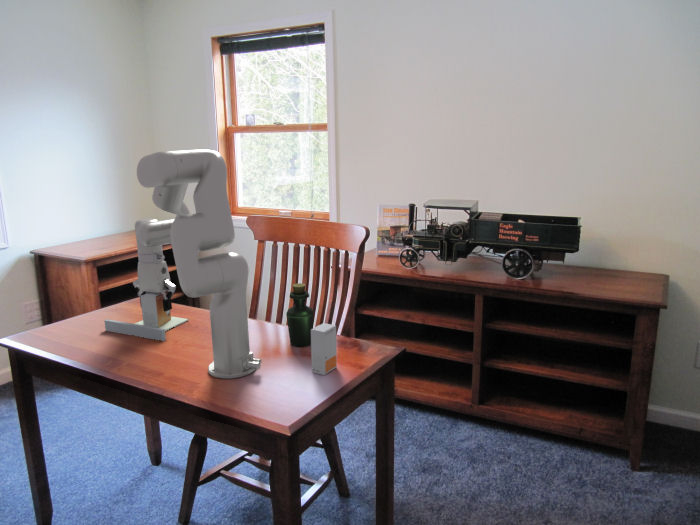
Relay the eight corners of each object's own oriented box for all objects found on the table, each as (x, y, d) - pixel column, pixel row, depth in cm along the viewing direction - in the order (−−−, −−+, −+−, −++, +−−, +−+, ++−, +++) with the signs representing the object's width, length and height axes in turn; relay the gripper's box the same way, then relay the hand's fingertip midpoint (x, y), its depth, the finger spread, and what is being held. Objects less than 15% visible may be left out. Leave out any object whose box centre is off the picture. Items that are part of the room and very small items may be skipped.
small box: (158, 328, 178) (155, 296, 175) (143, 326, 179) (139, 295, 177) (172, 319, 185) (169, 289, 183) (157, 318, 187) (154, 288, 184)
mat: (188, 320, 186) (188, 319, 186) (158, 334, 173) (158, 333, 173) (157, 315, 191) (156, 314, 191) (125, 329, 179) (125, 327, 179)
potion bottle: (312, 348, 160) (310, 289, 156) (284, 348, 161) (281, 288, 157) (317, 338, 168) (315, 281, 164) (291, 337, 169) (288, 281, 165)
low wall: (165, 339, 169) (164, 329, 168) (163, 341, 168) (161, 330, 167) (108, 329, 179) (107, 319, 178) (105, 330, 178) (104, 320, 177)
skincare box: (324, 376, 143) (323, 332, 140) (311, 372, 145) (309, 329, 142) (337, 367, 148) (336, 325, 145) (324, 364, 150) (323, 322, 147)
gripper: (180, 257, 177) (185, 308, 181) (139, 253, 184) (145, 302, 188) (163, 262, 170) (168, 315, 174) (121, 258, 177) (128, 308, 181)
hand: (156, 308), depth 181 cm, fingers open, 9 cm apart
